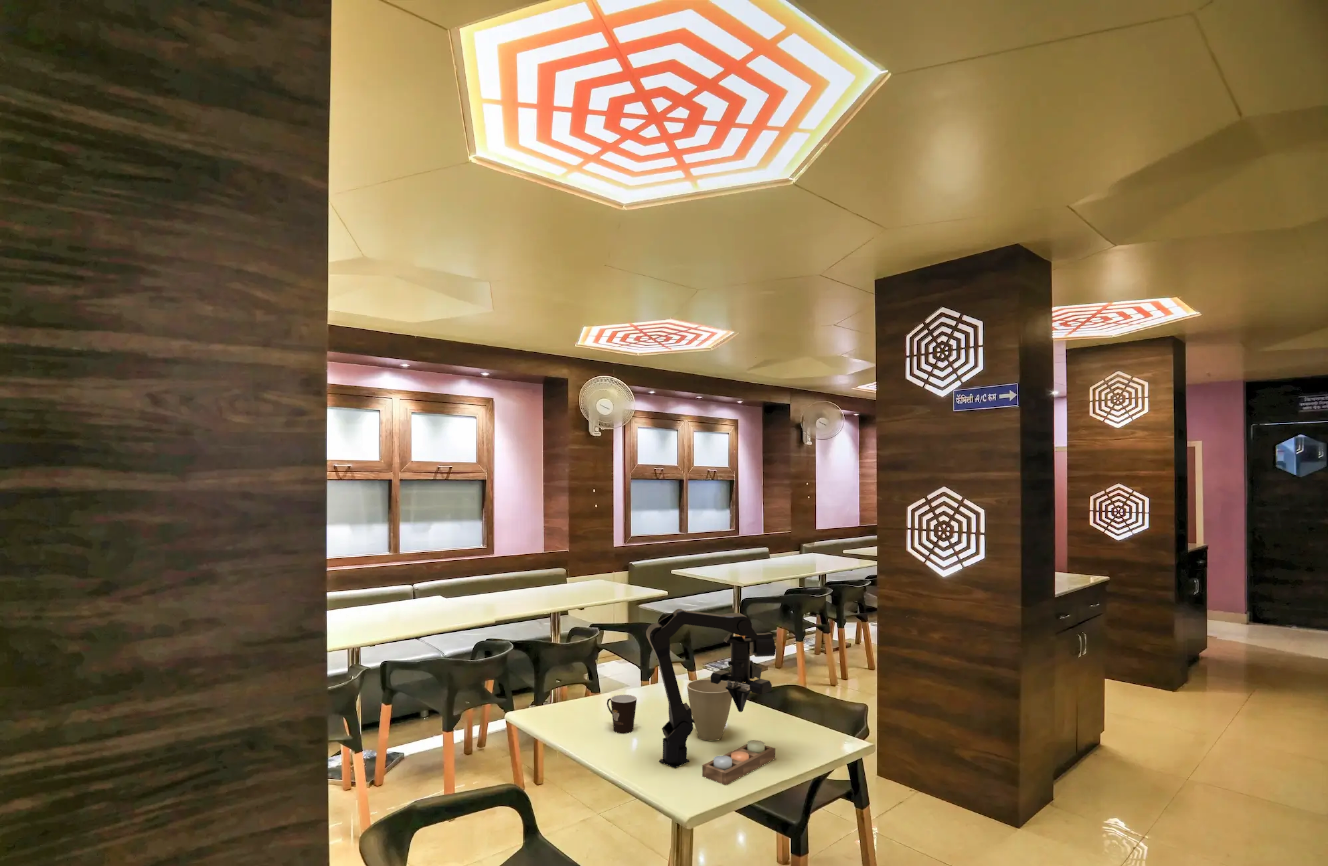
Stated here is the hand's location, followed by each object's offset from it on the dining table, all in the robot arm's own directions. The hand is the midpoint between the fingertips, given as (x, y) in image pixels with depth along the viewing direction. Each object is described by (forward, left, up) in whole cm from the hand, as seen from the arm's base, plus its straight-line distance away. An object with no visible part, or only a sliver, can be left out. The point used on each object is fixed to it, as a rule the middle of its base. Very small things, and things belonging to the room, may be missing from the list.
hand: (740, 711), depth 193 cm
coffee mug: (-43, -7, -13) cm, 46 cm away
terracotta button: (+4, -6, -13) cm, 14 cm away
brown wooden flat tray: (+4, -6, -13) cm, 15 cm away
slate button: (+4, -14, -11) cm, 19 cm away
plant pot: (-17, +7, -13) cm, 23 cm away
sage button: (+4, +2, -11) cm, 12 cm away
